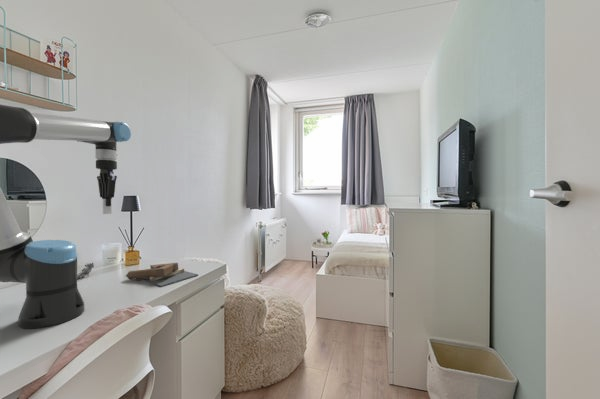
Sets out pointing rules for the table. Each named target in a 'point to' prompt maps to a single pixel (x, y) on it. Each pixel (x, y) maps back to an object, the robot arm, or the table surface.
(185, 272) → the mat
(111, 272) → the table surface
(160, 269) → the brown wooden bracket
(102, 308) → the table surface
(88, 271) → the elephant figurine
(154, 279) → the kerb
